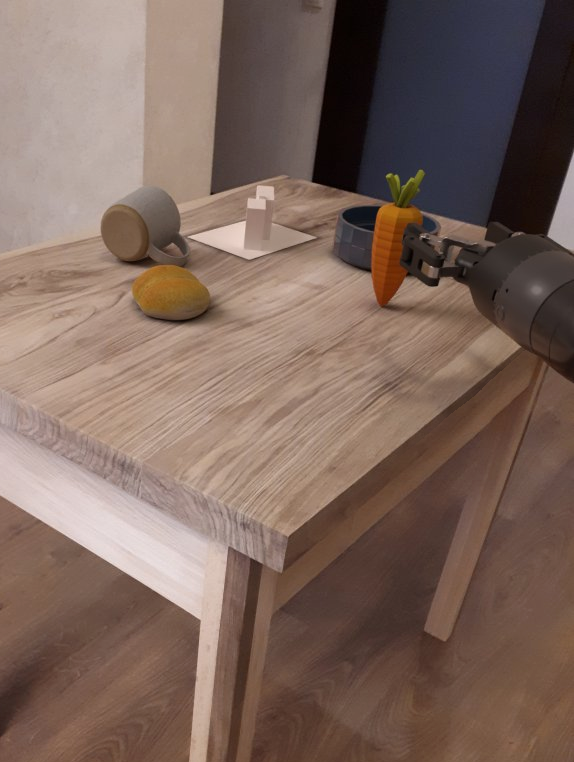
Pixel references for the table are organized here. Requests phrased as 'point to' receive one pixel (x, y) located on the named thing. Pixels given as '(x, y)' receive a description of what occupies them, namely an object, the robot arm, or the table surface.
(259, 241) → the napkin holder
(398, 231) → the carrot
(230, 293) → the table surface
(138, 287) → the bread roll
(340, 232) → the bowl
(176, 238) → the ceramic mug
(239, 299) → the table surface
